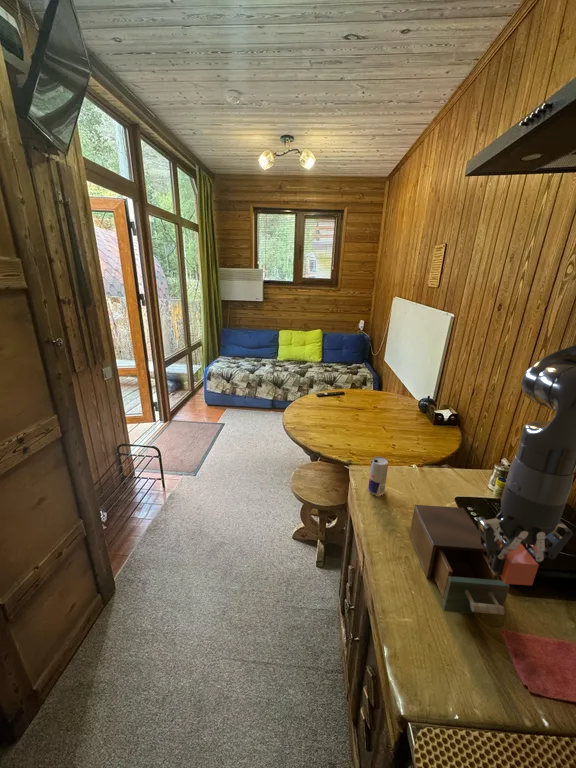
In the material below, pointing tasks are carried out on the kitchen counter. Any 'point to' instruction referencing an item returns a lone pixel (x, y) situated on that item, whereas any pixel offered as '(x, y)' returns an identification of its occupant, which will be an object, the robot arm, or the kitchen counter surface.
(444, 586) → the drawer
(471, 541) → the cabinet
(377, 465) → the energy drink
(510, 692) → the kitchen counter surface
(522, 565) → the block
